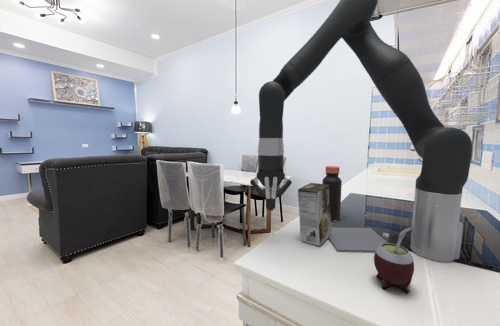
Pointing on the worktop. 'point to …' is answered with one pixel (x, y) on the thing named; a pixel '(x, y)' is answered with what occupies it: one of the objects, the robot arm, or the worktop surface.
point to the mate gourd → (394, 264)
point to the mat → (355, 239)
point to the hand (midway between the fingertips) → (270, 209)
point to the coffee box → (314, 213)
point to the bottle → (333, 190)
